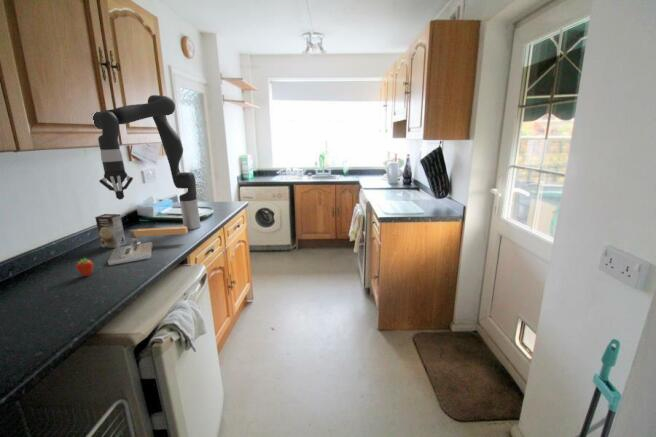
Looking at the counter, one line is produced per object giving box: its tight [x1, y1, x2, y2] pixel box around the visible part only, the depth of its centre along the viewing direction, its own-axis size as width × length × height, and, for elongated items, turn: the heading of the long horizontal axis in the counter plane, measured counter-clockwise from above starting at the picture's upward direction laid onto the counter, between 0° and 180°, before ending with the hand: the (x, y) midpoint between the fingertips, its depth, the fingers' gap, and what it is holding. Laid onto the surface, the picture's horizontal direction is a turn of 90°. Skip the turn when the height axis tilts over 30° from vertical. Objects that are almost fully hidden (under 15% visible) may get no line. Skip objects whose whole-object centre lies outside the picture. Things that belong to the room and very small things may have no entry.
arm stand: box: [129, 237, 142, 246], centre depth 158 cm, size 5×5×4 cm
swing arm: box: [128, 226, 188, 238], centre depth 158 cm, size 28×4×3 cm, turn 97°
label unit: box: [107, 242, 154, 266], centre depth 145 cm, size 18×16×2 cm
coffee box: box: [94, 213, 127, 248], centre depth 157 cm, size 9×6×16 cm
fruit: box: [76, 257, 94, 277], centre depth 124 cm, size 5×5×8 cm
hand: (120, 199), depth 138 cm, fingers closed
